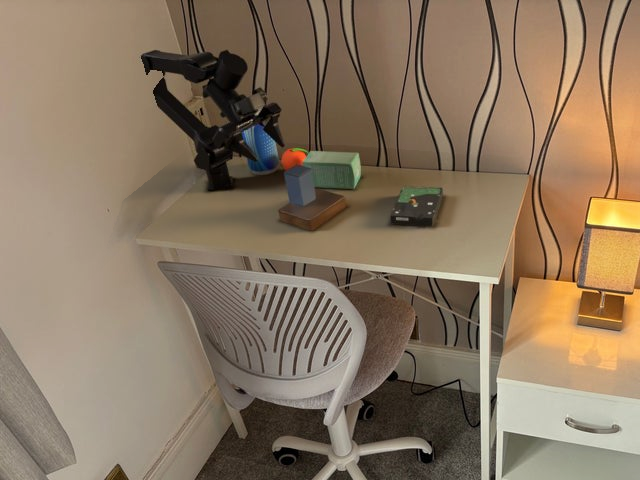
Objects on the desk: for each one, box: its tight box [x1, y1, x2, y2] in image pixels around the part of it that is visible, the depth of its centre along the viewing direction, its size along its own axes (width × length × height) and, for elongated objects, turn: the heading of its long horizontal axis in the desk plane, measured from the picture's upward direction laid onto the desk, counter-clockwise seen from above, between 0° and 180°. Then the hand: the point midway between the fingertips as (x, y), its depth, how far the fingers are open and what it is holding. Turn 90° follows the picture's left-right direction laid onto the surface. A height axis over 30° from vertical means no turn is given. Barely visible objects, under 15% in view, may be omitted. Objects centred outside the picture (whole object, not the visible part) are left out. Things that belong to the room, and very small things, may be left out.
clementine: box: [281, 147, 309, 171], centre depth 168 cm, size 8×7×7 cm
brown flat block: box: [277, 187, 347, 232], centre depth 150 cm, size 10×13×3 cm
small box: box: [283, 165, 316, 206], centre depth 149 cm, size 5×5×8 cm
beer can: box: [242, 108, 280, 176], centre depth 168 cm, size 8×8×16 cm
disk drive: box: [389, 185, 444, 227], centre depth 149 cm, size 10×3×15 cm
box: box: [303, 150, 362, 190], centre depth 162 cm, size 7×14×8 cm, turn 79°
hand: (270, 153), depth 148 cm, fingers open, 9 cm apart
